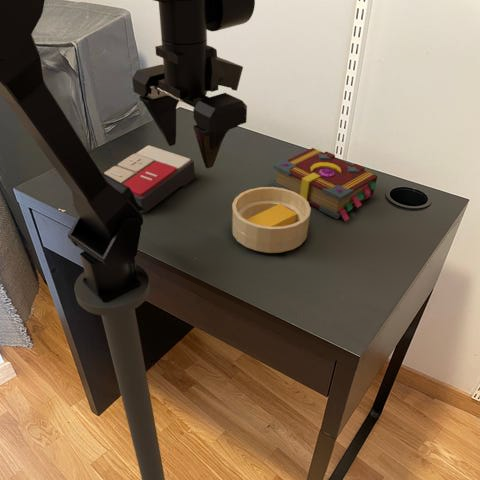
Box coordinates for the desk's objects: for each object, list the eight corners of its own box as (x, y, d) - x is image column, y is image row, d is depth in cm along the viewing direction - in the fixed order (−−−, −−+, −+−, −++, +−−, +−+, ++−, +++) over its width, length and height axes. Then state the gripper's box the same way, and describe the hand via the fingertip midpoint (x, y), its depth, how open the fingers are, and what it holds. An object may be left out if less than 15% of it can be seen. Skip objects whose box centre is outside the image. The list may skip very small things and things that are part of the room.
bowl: (268, 266, 73) (270, 238, 69) (216, 230, 79) (216, 203, 75) (322, 236, 78) (326, 209, 75) (270, 205, 85) (272, 179, 81)
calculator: (91, 176, 83) (147, 141, 92) (97, 198, 86) (150, 161, 95) (141, 195, 79) (194, 156, 88) (145, 217, 82) (196, 177, 91)
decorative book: (310, 168, 95) (313, 143, 92) (379, 200, 87) (385, 174, 84) (271, 187, 89) (273, 162, 86) (341, 223, 81) (346, 197, 78)
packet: (260, 245, 75) (261, 231, 74) (243, 233, 77) (243, 220, 76) (295, 226, 79) (297, 213, 77) (278, 216, 81) (279, 203, 80)
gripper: (281, 44, 60) (272, 163, 71) (190, 13, 69) (194, 122, 80) (211, 62, 54) (213, 187, 65) (123, 25, 64) (138, 139, 75)
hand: (190, 155), depth 72 cm, fingers open, 9 cm apart
